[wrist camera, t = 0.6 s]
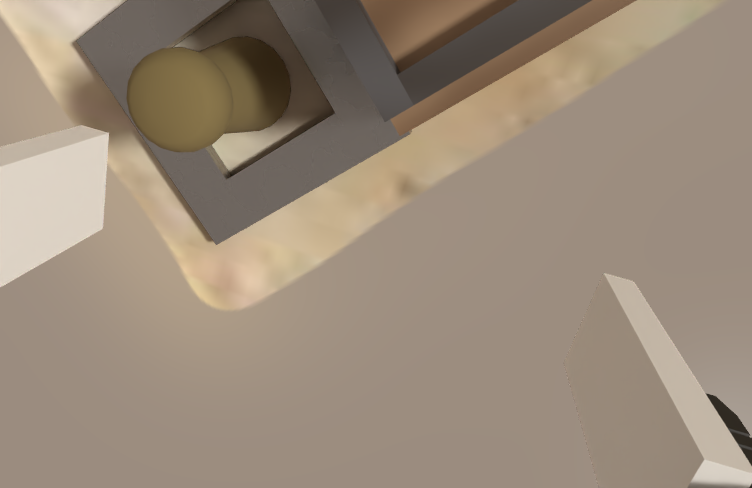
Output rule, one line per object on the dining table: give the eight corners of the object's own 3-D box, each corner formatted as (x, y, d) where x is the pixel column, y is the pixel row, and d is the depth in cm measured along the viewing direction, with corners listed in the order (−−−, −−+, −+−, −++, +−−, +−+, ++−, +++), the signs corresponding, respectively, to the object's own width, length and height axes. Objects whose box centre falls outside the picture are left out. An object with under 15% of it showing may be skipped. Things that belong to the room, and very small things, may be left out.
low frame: (85, 40, 39) (76, 40, 38) (276, -109, 34) (270, -113, 33) (221, 240, 42) (216, 244, 41) (411, 131, 37) (410, 133, 36)
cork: (185, 67, 38) (81, 81, 28) (257, 17, 36) (173, 12, 26) (236, 147, 40) (154, 187, 29) (308, 102, 38) (247, 129, 28)
